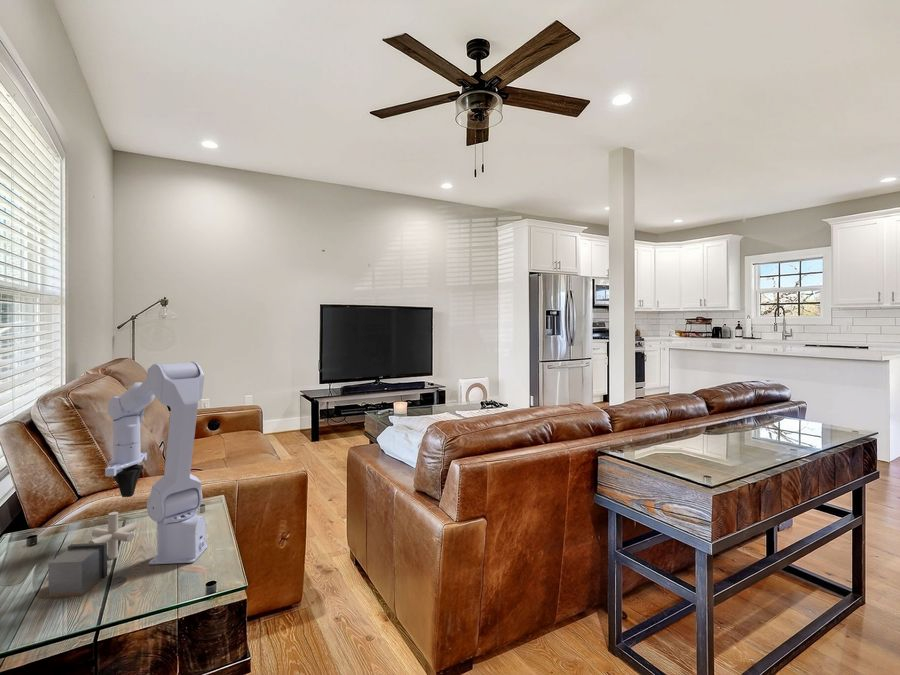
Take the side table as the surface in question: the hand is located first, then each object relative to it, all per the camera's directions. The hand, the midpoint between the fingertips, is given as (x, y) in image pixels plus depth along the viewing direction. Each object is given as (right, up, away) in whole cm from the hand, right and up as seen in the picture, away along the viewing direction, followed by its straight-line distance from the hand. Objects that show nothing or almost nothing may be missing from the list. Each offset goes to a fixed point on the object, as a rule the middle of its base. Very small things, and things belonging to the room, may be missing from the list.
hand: (127, 496), depth 120 cm
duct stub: (+7, -10, -25) cm, 28 cm away
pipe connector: (+5, -10, -13) cm, 17 cm away
